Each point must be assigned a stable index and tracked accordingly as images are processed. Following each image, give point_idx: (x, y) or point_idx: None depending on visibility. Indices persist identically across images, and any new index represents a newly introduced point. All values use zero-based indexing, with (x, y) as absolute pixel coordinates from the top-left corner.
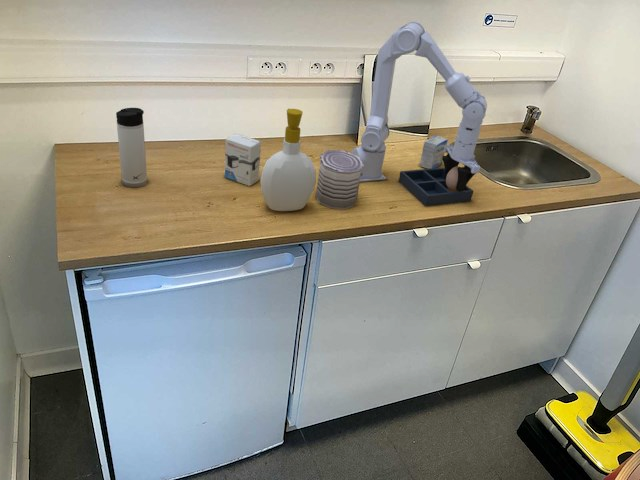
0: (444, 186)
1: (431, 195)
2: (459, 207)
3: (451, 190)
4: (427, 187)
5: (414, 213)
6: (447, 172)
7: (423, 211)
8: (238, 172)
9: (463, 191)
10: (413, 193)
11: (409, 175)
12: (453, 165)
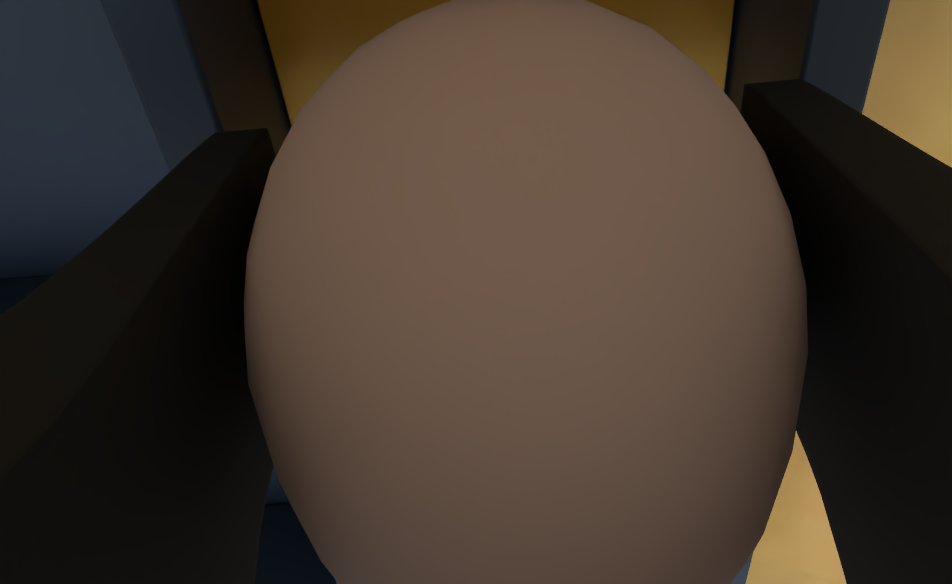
0: (279, 147)
1: (744, 579)
2: (918, 96)
3: (365, 2)
4: None
5: (787, 575)
6: (260, 441)
7: (789, 513)
8: None
9: (841, 88)
10: None
11: None
12: (163, 549)
